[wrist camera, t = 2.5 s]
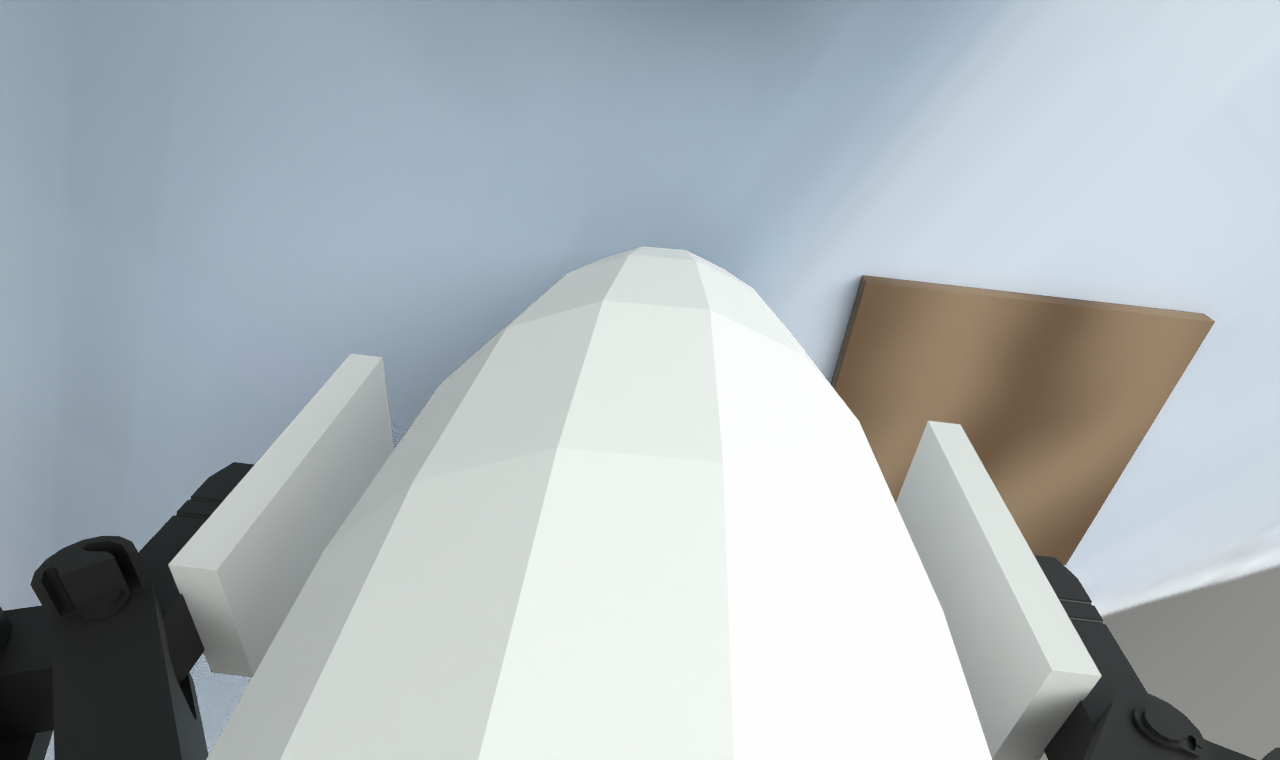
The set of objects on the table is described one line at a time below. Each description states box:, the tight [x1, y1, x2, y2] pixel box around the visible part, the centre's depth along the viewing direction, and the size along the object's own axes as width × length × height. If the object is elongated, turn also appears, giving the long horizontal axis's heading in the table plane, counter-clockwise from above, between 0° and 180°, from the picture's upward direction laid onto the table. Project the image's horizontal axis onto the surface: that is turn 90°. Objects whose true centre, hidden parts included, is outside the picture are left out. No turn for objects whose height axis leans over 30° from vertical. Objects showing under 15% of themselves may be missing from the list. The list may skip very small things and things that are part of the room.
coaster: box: [831, 275, 1215, 565], centre depth 27 cm, size 12×12×1 cm
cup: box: [206, 246, 992, 760], centre depth 15 cm, size 10×10×22 cm
